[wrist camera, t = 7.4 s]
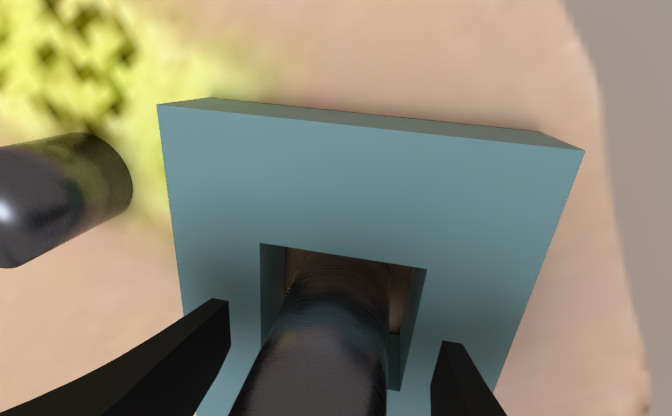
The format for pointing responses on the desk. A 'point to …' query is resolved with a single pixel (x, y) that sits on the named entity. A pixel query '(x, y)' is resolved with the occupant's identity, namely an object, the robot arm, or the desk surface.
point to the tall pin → (325, 344)
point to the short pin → (57, 193)
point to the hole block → (362, 224)
